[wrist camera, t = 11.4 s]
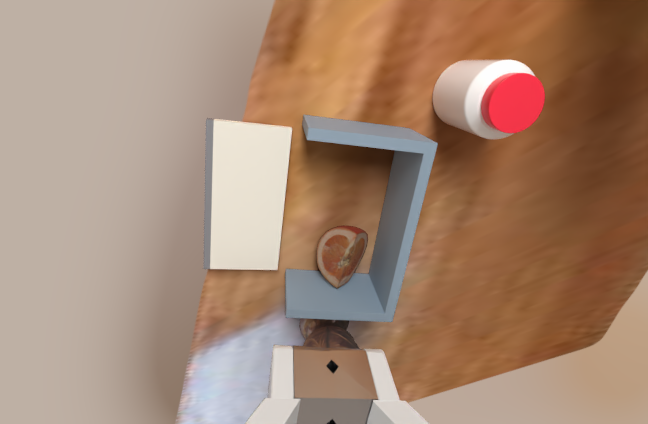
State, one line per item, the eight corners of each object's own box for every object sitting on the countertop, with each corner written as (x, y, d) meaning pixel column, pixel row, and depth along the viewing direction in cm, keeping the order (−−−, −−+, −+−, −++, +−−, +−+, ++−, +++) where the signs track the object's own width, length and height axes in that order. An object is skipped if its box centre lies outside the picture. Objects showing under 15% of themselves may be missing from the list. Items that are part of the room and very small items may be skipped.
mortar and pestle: (311, 273, 51) (327, 391, 33) (367, 285, 53) (412, 403, 35) (289, 337, 55) (294, 473, 37) (342, 345, 57) (371, 480, 39)
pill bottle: (498, 112, 45) (560, 127, 35) (440, 135, 46) (484, 156, 36) (488, 49, 42) (552, 45, 32) (425, 74, 43) (470, 78, 32)
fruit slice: (352, 273, 52) (359, 294, 48) (307, 264, 51) (310, 284, 46) (372, 222, 49) (381, 239, 45) (325, 211, 48) (330, 226, 43)
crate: (303, 114, 43) (308, 127, 35) (409, 128, 45) (437, 143, 37) (285, 276, 51) (285, 317, 43) (375, 281, 53) (392, 322, 45)
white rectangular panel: (291, 127, 43) (207, 118, 41) (292, 128, 42) (206, 119, 40) (276, 266, 50) (204, 264, 48) (277, 270, 49) (203, 268, 47)
